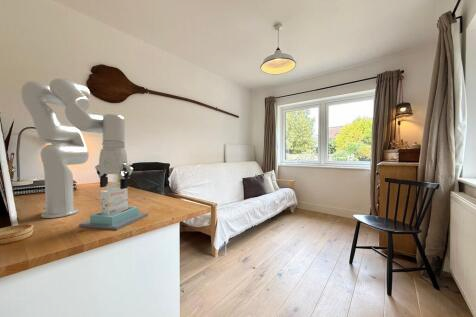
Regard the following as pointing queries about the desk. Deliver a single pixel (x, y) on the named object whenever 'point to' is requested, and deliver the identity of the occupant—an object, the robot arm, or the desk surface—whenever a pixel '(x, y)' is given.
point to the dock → (114, 219)
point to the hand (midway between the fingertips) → (113, 187)
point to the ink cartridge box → (113, 200)
